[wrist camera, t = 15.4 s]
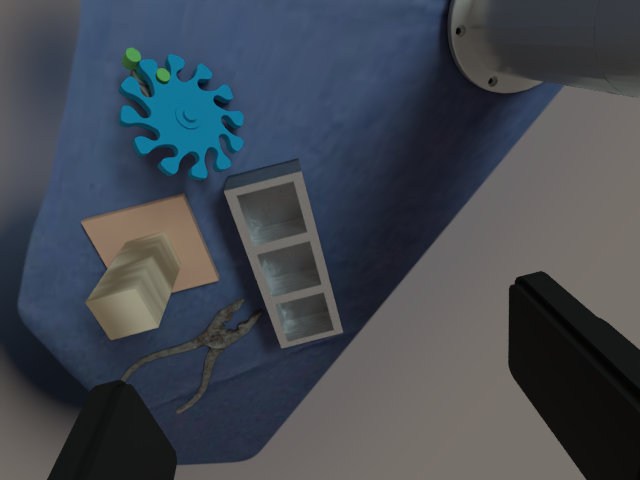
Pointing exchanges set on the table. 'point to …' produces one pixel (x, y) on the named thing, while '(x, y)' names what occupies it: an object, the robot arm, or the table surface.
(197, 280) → the tile
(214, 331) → the pliers
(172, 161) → the gear
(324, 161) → the table surface
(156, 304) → the peg
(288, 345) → the shelf
